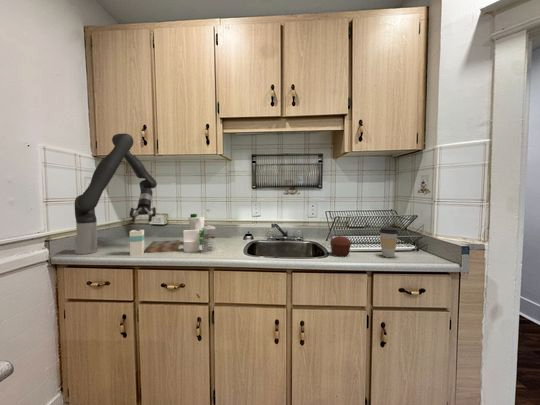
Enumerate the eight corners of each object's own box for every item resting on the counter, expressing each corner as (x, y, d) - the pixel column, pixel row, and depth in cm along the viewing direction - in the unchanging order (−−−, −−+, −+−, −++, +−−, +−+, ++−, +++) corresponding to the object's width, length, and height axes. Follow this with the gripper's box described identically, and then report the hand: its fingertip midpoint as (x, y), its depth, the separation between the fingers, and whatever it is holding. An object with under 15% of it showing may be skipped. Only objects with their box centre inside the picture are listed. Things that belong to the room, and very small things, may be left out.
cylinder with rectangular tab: (200, 248, 149) (200, 229, 148) (198, 251, 140) (198, 231, 139) (185, 248, 147) (185, 229, 147) (182, 252, 138) (182, 231, 138)
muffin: (326, 255, 133) (327, 237, 133) (333, 251, 142) (333, 234, 142) (348, 258, 127) (349, 239, 126) (353, 253, 136) (353, 236, 136)
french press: (212, 254, 134) (211, 209, 133) (194, 252, 137) (193, 209, 136) (220, 250, 143) (220, 208, 142) (203, 248, 147) (203, 208, 146)
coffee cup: (383, 253, 138) (384, 227, 137) (400, 256, 130) (401, 229, 130) (375, 255, 132) (375, 228, 131) (392, 259, 125) (393, 230, 124)
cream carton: (129, 255, 131) (129, 230, 131) (132, 252, 137) (132, 228, 137) (142, 254, 133) (141, 229, 132) (144, 252, 139) (144, 228, 138)
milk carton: (194, 242, 166) (193, 213, 165) (206, 242, 164) (206, 213, 163) (187, 245, 157) (186, 214, 156) (200, 245, 155) (199, 215, 155)
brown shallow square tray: (147, 253, 137) (147, 246, 136) (152, 246, 152) (152, 241, 152) (177, 251, 141) (177, 244, 141) (179, 245, 156) (179, 239, 156)
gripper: (131, 198, 151) (126, 218, 141) (156, 197, 155) (153, 217, 145) (133, 205, 156) (129, 225, 146) (157, 205, 160) (155, 224, 150)
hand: (141, 221), depth 145 cm, fingers open, 8 cm apart
